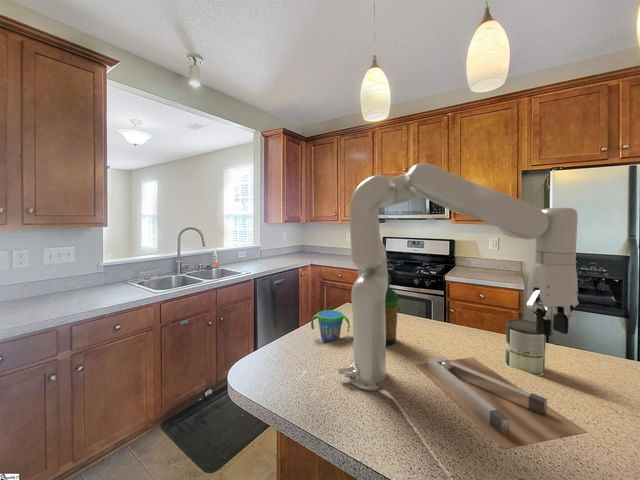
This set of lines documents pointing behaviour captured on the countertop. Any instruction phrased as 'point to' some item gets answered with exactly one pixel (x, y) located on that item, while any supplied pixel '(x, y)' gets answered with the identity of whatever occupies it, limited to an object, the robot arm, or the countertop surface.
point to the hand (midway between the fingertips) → (551, 332)
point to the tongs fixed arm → (469, 396)
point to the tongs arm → (498, 387)
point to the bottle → (391, 314)
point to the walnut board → (508, 411)
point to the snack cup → (330, 324)
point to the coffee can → (525, 346)
